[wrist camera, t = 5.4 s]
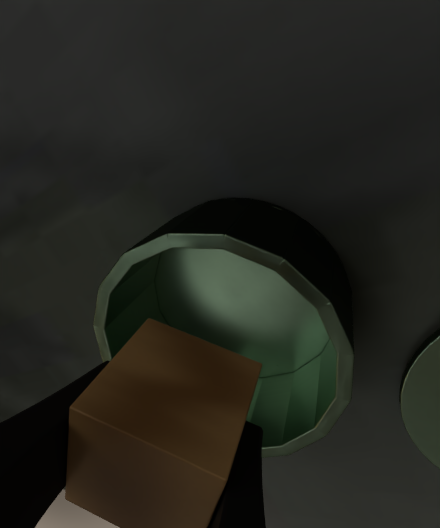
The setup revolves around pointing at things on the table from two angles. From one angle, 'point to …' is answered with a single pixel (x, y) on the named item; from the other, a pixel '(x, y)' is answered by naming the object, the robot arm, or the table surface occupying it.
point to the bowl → (246, 308)
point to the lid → (423, 398)
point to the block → (159, 430)
